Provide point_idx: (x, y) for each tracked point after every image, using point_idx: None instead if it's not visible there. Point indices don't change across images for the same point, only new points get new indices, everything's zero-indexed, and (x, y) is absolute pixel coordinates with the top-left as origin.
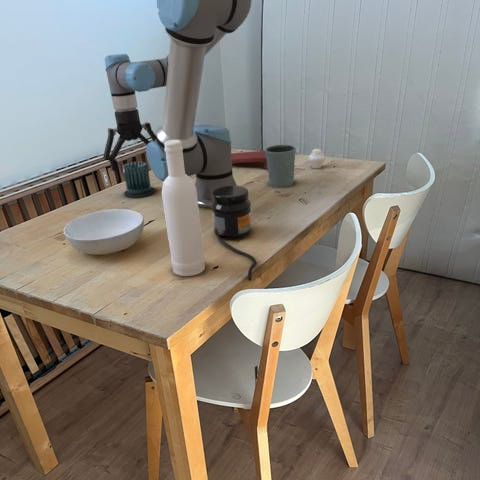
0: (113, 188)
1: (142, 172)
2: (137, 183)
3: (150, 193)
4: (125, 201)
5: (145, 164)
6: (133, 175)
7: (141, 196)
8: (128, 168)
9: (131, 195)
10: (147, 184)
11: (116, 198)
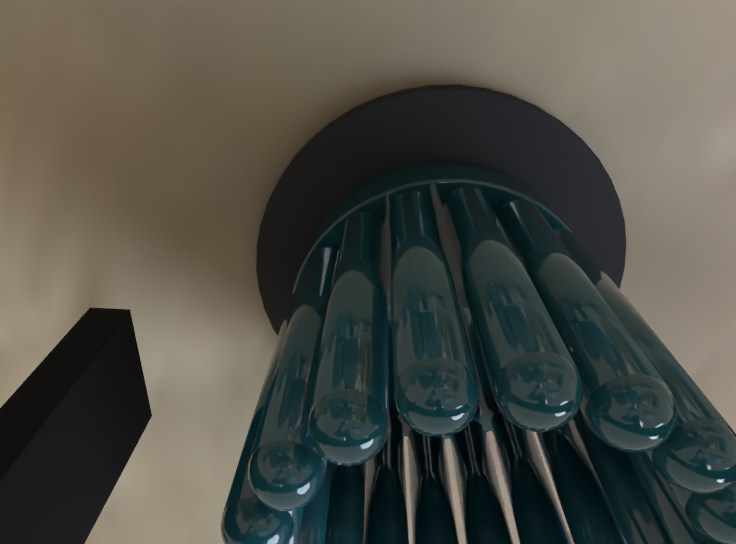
0: (565, 522)
1: (439, 301)
2: (538, 227)
3: (372, 109)
4: (730, 96)
5: (282, 491)
6: (448, 501)
7: (508, 96)
8: (726, 500)
9: (592, 200)
10: (363, 221)
11: (724, 270)
